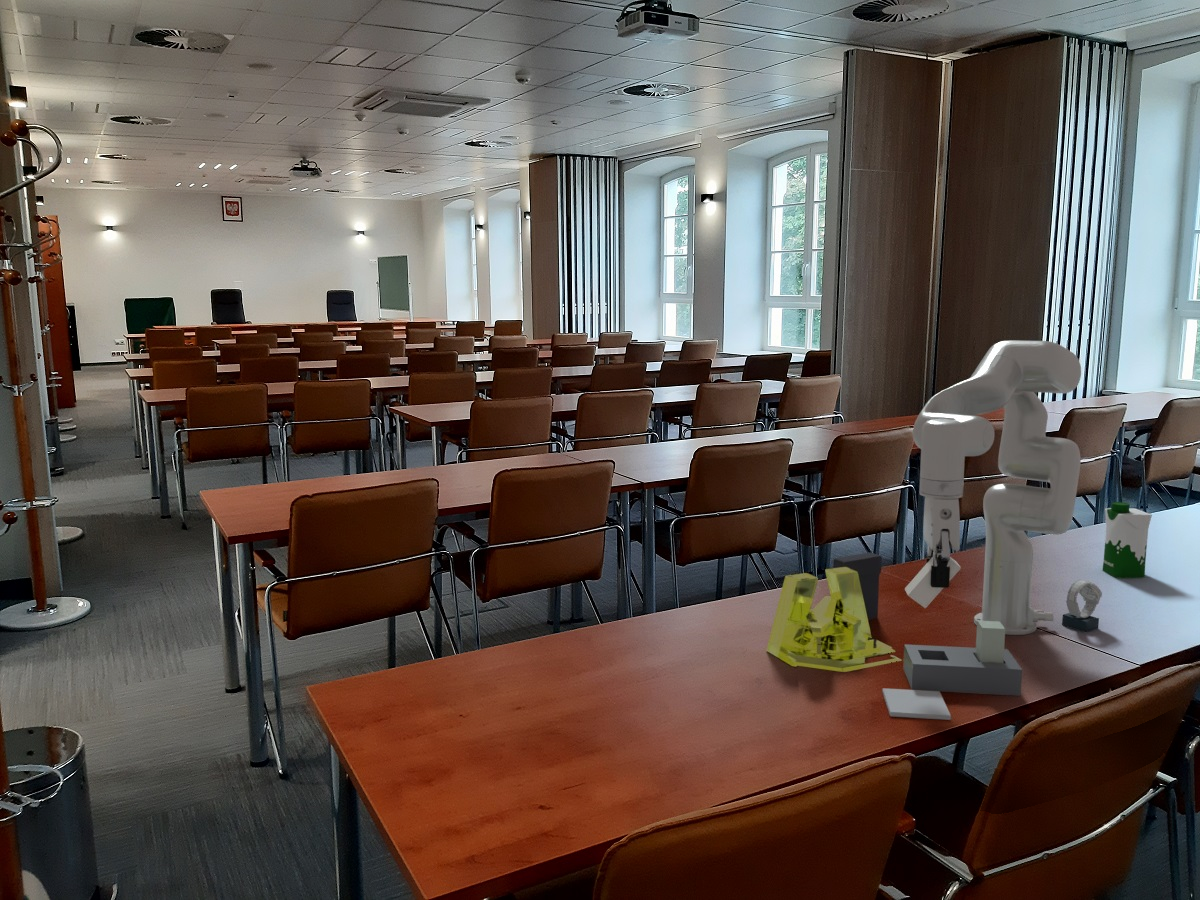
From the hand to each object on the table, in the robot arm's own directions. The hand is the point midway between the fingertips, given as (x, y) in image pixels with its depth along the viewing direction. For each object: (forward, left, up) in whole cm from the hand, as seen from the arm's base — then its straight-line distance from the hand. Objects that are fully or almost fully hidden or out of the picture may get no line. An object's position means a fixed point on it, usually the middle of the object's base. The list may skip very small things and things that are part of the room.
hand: (937, 582), depth 170 cm
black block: (+11, -32, -19) cm, 39 cm away
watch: (-36, -32, -19) cm, 52 cm away
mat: (+5, +12, -19) cm, 23 cm away
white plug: (+4, 0, -3) cm, 5 cm away
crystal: (+17, -12, -20) cm, 28 cm away
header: (-5, 0, -19) cm, 20 cm away
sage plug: (-10, 0, -18) cm, 20 cm away
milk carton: (-60, -73, -19) cm, 96 cm away
